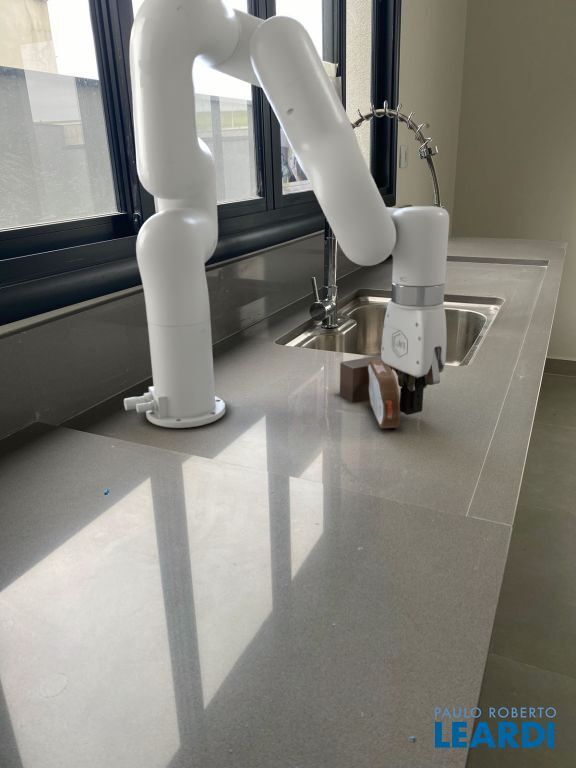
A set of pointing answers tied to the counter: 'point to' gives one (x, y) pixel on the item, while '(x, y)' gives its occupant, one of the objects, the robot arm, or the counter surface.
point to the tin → (384, 394)
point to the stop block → (355, 378)
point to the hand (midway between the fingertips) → (410, 411)
